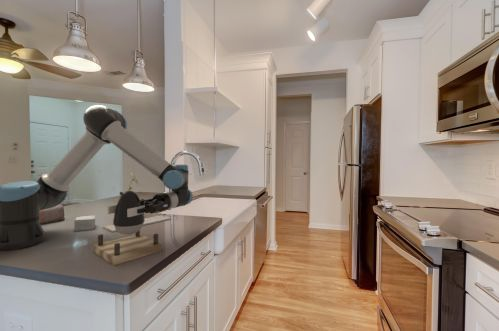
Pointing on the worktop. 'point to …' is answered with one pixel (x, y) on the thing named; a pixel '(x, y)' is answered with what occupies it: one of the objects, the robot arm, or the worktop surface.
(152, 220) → the baseboard
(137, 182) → the flower in vase
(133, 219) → the dark grey bell shape
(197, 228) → the worktop surface
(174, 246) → the worktop surface
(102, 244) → the oak stand
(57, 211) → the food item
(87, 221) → the small box
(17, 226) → the robot arm
